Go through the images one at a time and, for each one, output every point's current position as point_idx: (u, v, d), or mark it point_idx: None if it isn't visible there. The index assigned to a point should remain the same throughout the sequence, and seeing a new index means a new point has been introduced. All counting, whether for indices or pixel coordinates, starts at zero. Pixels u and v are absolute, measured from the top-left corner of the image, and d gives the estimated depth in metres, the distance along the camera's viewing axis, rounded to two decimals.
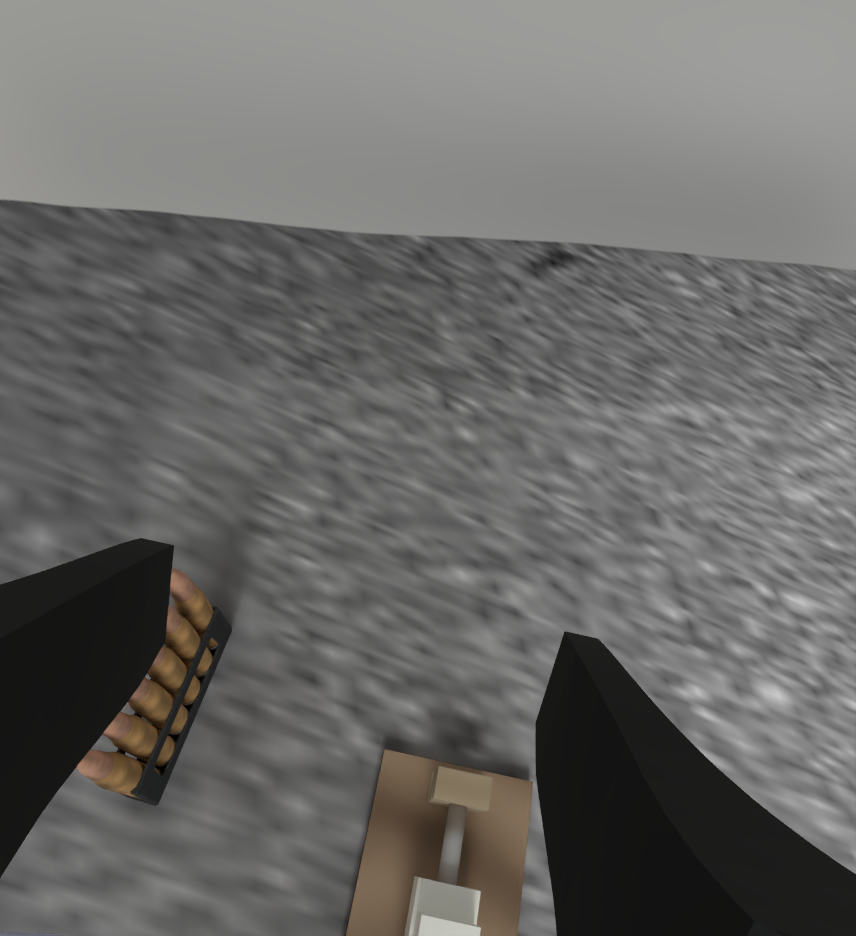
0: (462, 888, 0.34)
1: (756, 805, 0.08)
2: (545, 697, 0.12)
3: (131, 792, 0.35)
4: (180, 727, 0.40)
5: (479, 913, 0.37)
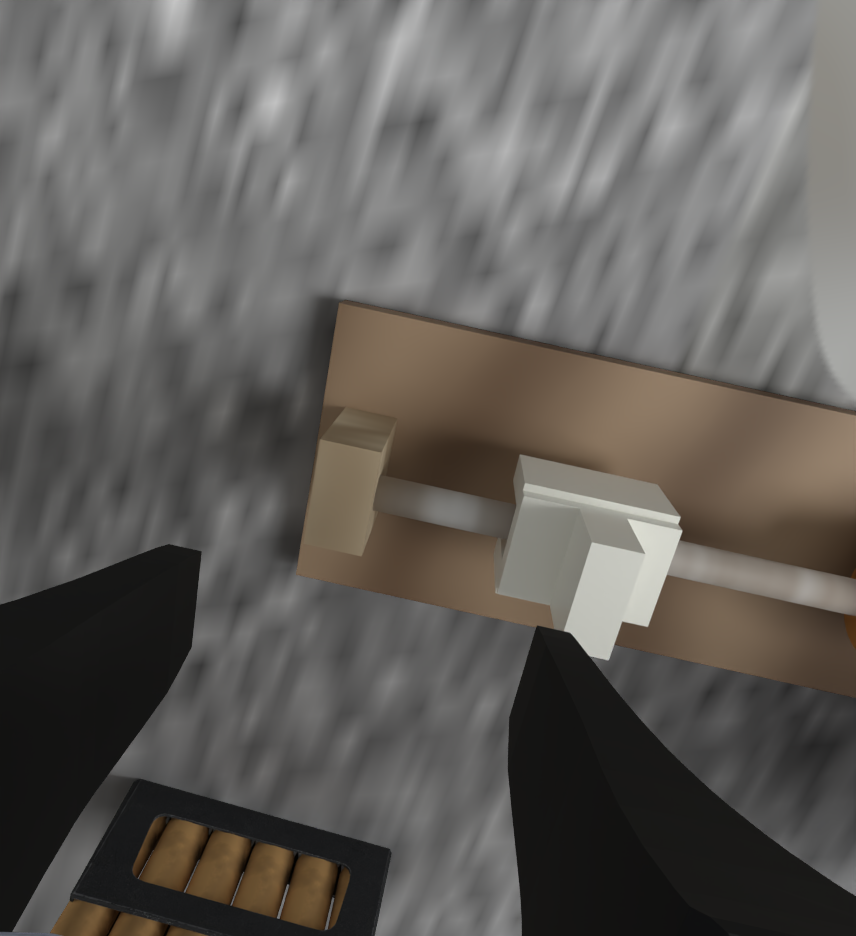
0: (518, 525, 0.17)
1: (713, 796, 0.08)
2: (518, 691, 0.12)
3: None
4: (283, 856, 0.26)
5: (558, 426, 0.20)
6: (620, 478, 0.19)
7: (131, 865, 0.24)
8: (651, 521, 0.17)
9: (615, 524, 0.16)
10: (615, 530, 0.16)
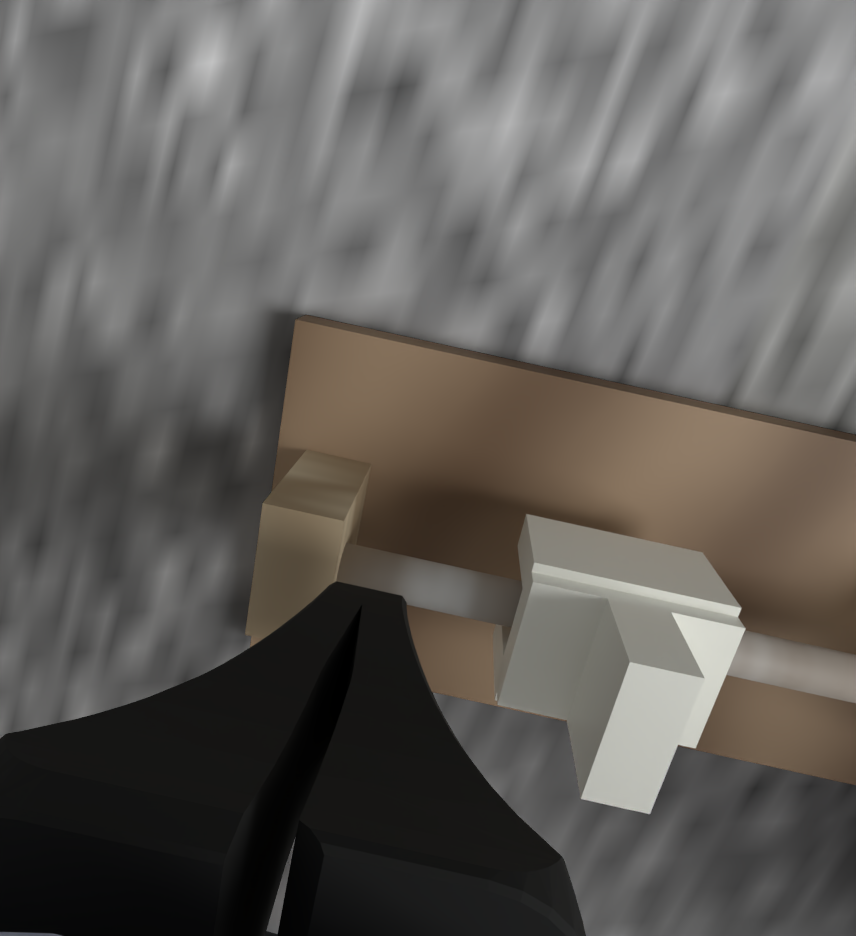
0: (525, 618, 0.13)
1: (449, 737, 0.08)
2: None
3: None
4: None
5: (574, 474, 0.16)
6: (655, 546, 0.15)
7: None
8: (703, 614, 0.13)
9: (657, 624, 0.12)
10: (658, 635, 0.12)
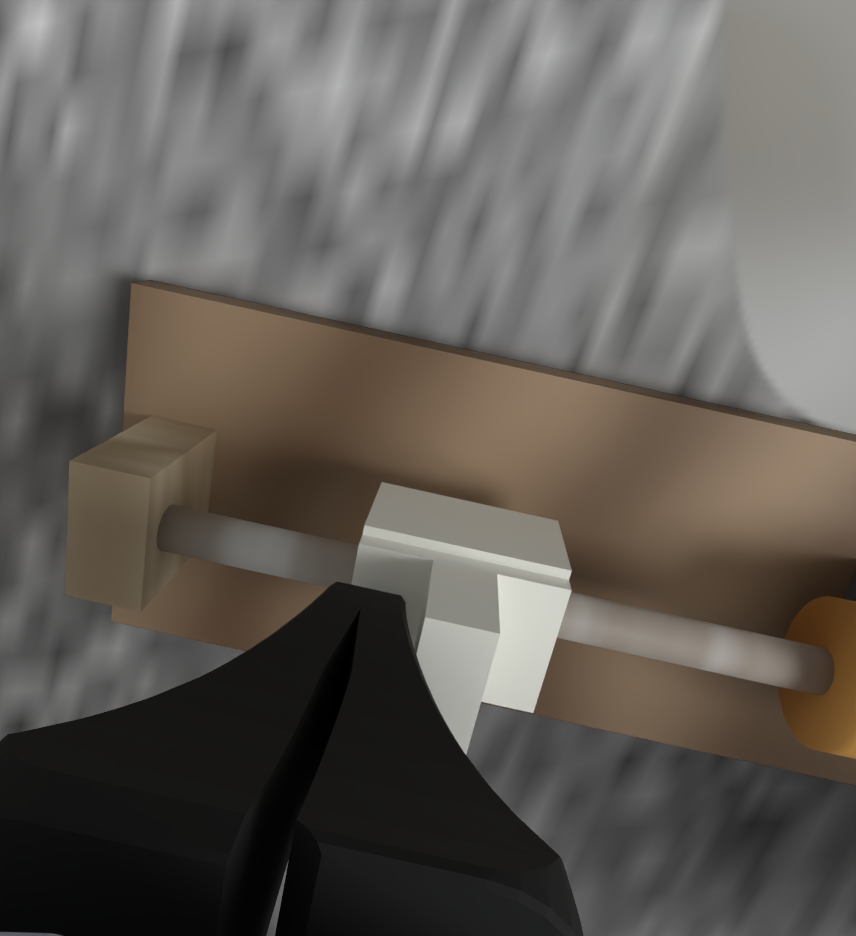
0: (354, 581, 0.13)
1: (447, 737, 0.08)
2: None
3: None
4: None
5: (417, 440, 0.16)
6: (509, 513, 0.15)
7: None
8: (531, 577, 0.13)
9: (475, 584, 0.12)
10: (471, 594, 0.12)
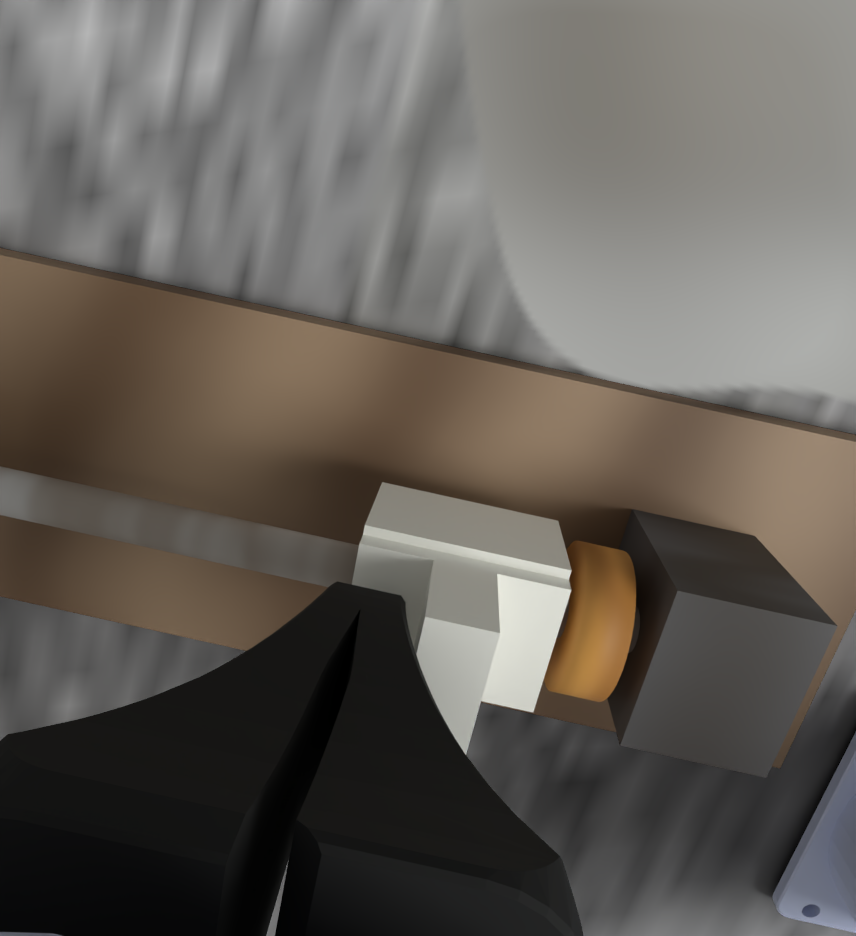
0: (355, 581, 0.13)
1: (447, 737, 0.08)
2: None
3: None
4: None
5: (187, 389, 0.16)
6: (509, 513, 0.15)
7: None
8: (531, 576, 0.13)
9: (475, 584, 0.12)
10: (471, 594, 0.12)
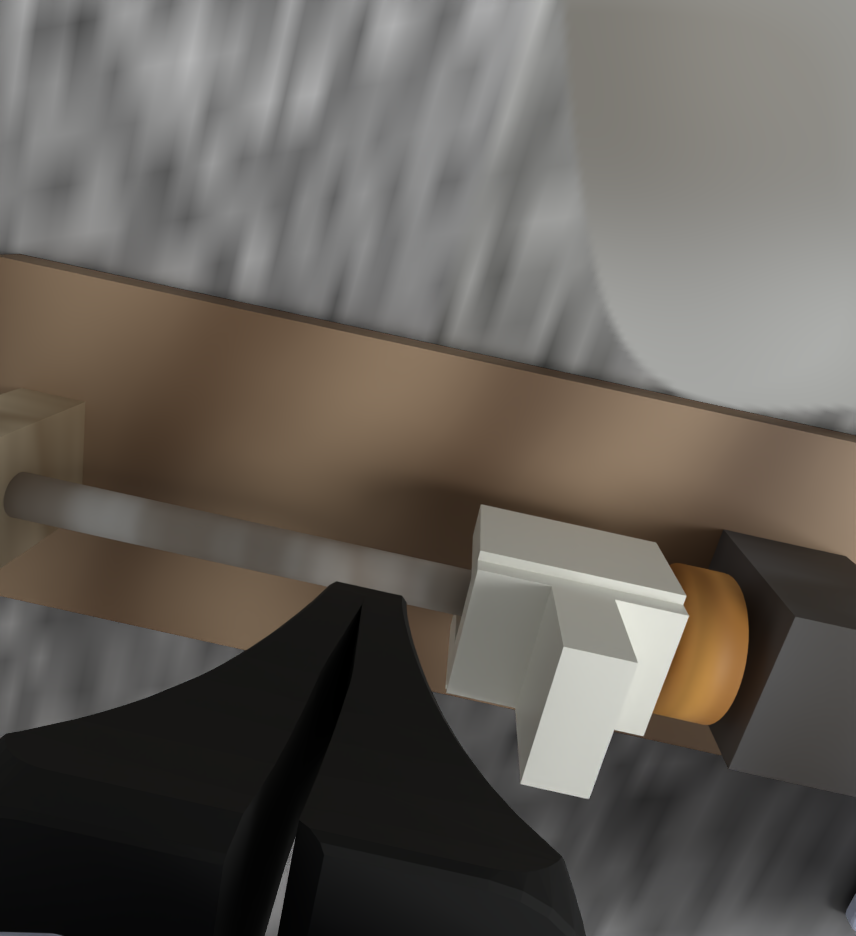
0: (471, 606, 0.13)
1: (449, 737, 0.08)
2: None
3: None
4: None
5: (280, 411, 0.16)
6: (608, 536, 0.15)
7: None
8: (647, 602, 0.13)
9: (598, 611, 0.12)
10: (598, 622, 0.12)
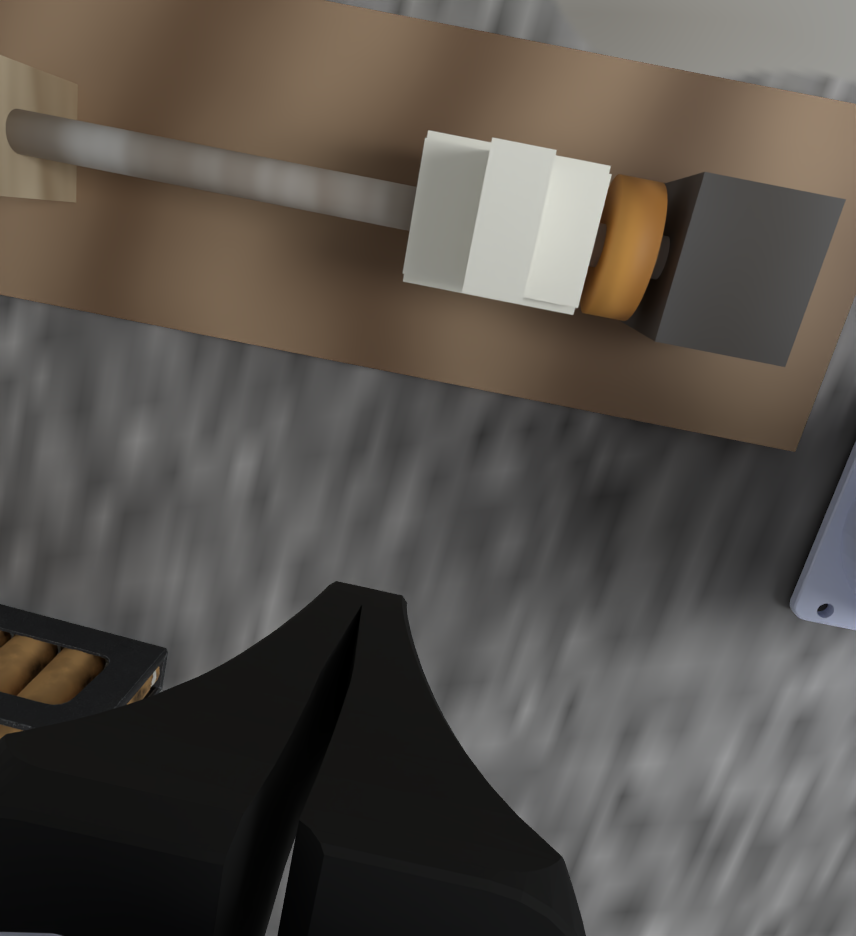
0: (420, 178, 0.15)
1: (449, 737, 0.08)
2: None
3: None
4: (34, 646, 0.24)
5: (254, 83, 0.18)
6: None
7: None
8: None
9: None
10: None
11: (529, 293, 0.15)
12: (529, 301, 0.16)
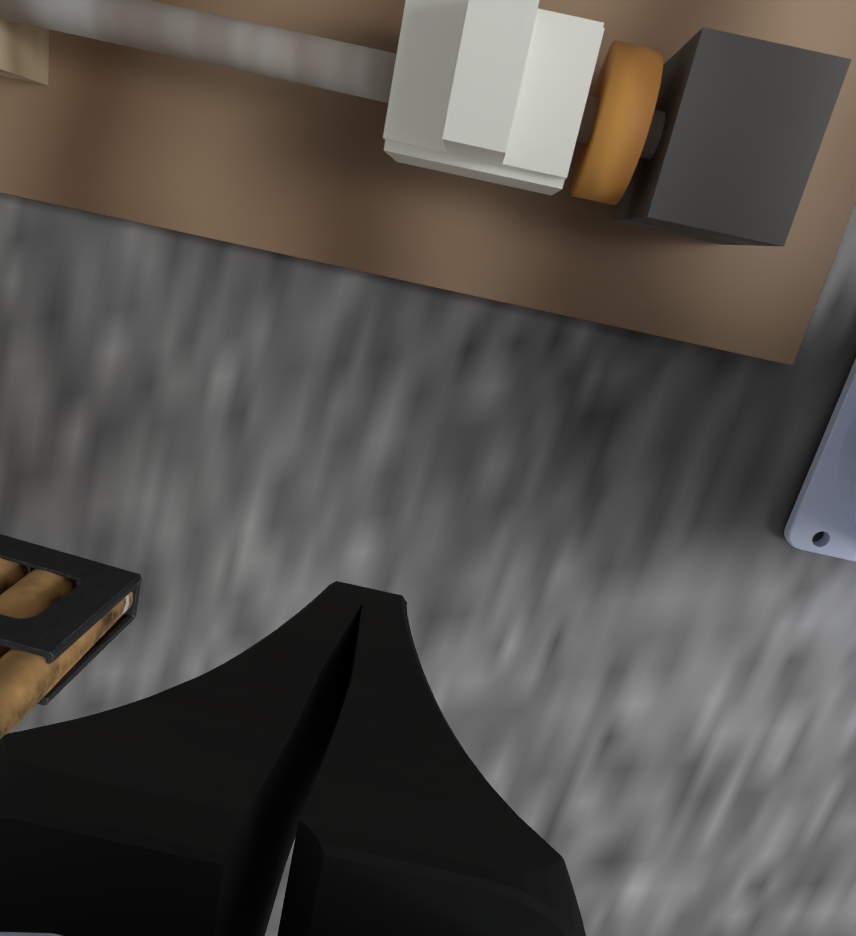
0: (403, 31, 0.14)
1: (449, 737, 0.08)
2: None
3: (48, 662, 0.20)
4: (2, 566, 0.23)
5: None
6: None
7: None
8: (567, 23, 0.14)
9: None
10: None
11: (516, 161, 0.14)
12: (516, 174, 0.15)
